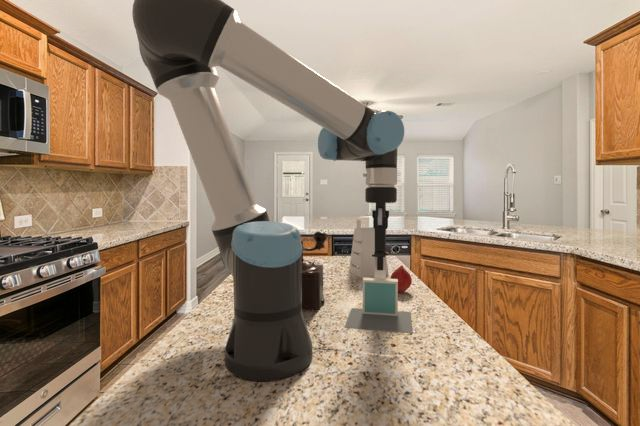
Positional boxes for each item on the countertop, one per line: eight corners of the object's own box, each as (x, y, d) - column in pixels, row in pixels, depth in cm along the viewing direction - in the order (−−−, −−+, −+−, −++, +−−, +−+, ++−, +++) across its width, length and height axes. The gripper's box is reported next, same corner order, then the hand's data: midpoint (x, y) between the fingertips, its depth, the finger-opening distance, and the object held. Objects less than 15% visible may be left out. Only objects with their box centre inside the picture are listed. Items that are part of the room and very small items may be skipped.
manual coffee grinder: (322, 312, 81) (321, 238, 80) (277, 310, 83) (276, 237, 82) (328, 292, 97) (328, 230, 96) (290, 291, 98) (289, 230, 97)
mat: (412, 334, 68) (412, 332, 68) (344, 328, 71) (344, 327, 71) (410, 313, 80) (410, 312, 80) (351, 309, 83) (351, 308, 83)
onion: (388, 294, 95) (388, 266, 94) (393, 288, 100) (393, 262, 99) (408, 297, 92) (409, 268, 91) (413, 291, 97) (413, 264, 97)
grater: (348, 270, 123) (348, 216, 122) (374, 268, 126) (375, 215, 125) (360, 277, 113) (360, 218, 112) (388, 275, 116) (389, 217, 115)
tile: (397, 316, 77) (397, 281, 77) (362, 313, 79) (362, 280, 79) (397, 312, 80) (397, 279, 79) (363, 310, 82) (363, 277, 81)
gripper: (367, 186, 89) (366, 275, 90) (363, 186, 76) (362, 288, 78) (396, 186, 87) (395, 276, 89) (397, 185, 75) (395, 290, 76)
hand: (380, 282), depth 83 cm, fingers closed
